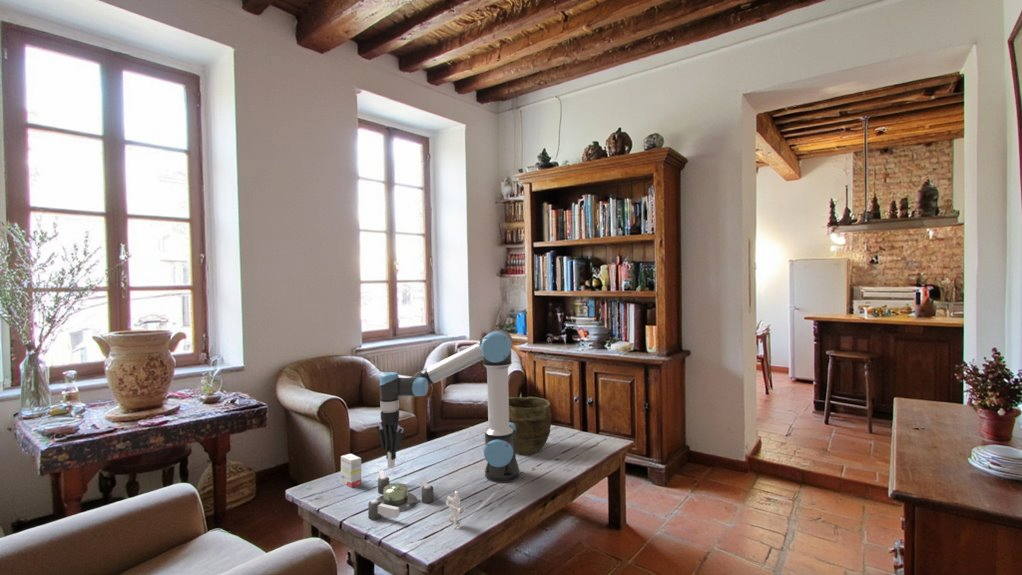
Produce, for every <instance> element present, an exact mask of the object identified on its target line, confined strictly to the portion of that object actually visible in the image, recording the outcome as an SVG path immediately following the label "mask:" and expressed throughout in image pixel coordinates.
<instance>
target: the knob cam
mask: <svg viewBox="0 0 1022 575" xmlns="http://www.w3.org/2000/svg"><path fill="white" fill-rule="evenodd" d="M367 505H368V508H367V509H368V511H367V512H368V519H369V520H372V521H373V520H374V521H375V520H379V519H381V517H382V516H385V517H389V518H393V519H397V518H398V517H400V512H399V507H395V506H391V505H386V504H382V503H381V501H380V500H376V499H373V500H370V501H369V502H368V504H367Z"/></svg>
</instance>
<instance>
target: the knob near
mask: <svg viewBox="0 0 1022 575" xmlns="http://www.w3.org/2000/svg"><path fill="white" fill-rule="evenodd" d="M419 482H420V489H421V503H422V504H426V505H427V504H431V503H433V502H434V486H433V485H430V484H429V483H428V481H427V479H426V478H425V477H423V478H420V481H419Z"/></svg>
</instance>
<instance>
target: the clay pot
mask: <svg viewBox="0 0 1022 575" xmlns="http://www.w3.org/2000/svg"><path fill="white" fill-rule="evenodd" d="M552 416H553V414H552V412H551V402H550V401H549V400H548V399H546V398H541V397H537V396H525V397H524V396H520V397H519V396H510V397H509V422H511V423H514V424H515V427H516V455H519V456H530V455H532V454H536V453H538V452H540V451H541V450H542V449H543V448H544V447H545V445H546V443H547V441H548V439H549V436H550V434H551V428H552V427H551V426H552Z"/></svg>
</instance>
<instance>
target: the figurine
mask: <svg viewBox="0 0 1022 575" xmlns="http://www.w3.org/2000/svg"><path fill="white" fill-rule="evenodd" d="M445 505H447V506H448V508H449V511H450V512H451V513H450V514H448V516H445V519H446V521H447V522H451V518H452V517H453V526H455V527H454V529H453V530H459V529H461V525H460V524H457V521H458V516H459V515H458V513H459V514H460V515H461V516H463V515H465V511H466V507H465V506H461V507H459V506H460V505H461V498H460V491H457V490H456V491H455V492H454V496H453V497H452V496H451V495H447V498H446V502H445ZM457 512H458V513H457Z"/></svg>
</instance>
